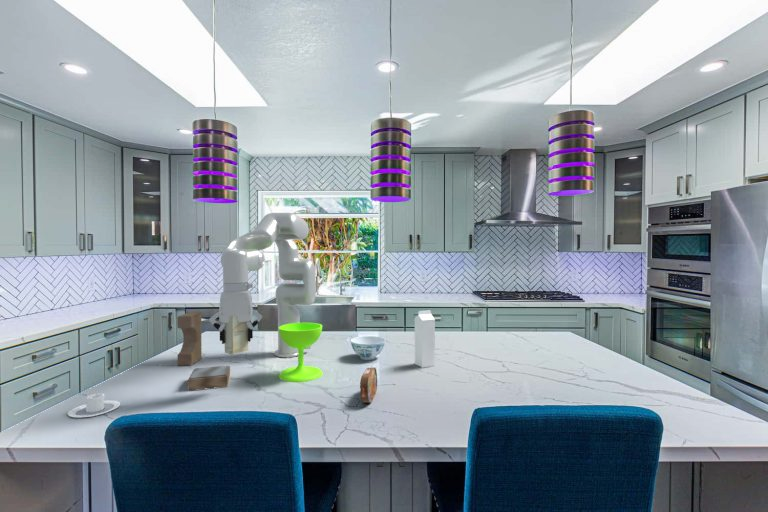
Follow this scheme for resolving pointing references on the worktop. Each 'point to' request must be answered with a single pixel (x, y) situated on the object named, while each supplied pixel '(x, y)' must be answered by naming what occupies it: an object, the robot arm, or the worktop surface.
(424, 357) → the milk
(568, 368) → the worktop surface
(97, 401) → the candle holder
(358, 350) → the chinaware
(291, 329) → the wineglass
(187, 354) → the decorative block
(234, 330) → the skincare box
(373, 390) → the tin
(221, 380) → the plinth
